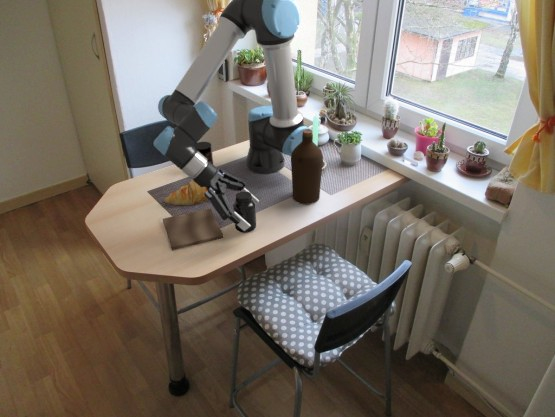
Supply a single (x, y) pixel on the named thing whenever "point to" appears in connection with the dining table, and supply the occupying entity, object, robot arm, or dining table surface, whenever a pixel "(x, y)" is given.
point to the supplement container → (205, 150)
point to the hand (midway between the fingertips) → (252, 215)
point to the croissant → (187, 195)
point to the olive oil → (306, 170)
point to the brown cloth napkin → (192, 229)
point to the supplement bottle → (245, 210)
